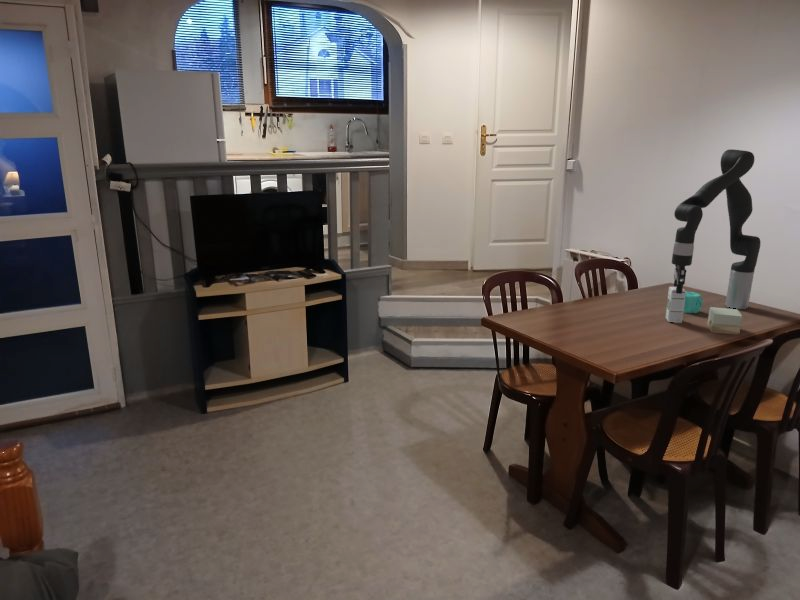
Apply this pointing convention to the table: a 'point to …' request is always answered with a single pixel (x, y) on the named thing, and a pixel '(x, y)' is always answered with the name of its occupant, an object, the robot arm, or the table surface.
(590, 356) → the table surface
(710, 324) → the tower bottom
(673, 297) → the syrup box
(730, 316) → the tower top
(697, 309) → the decorative dice
